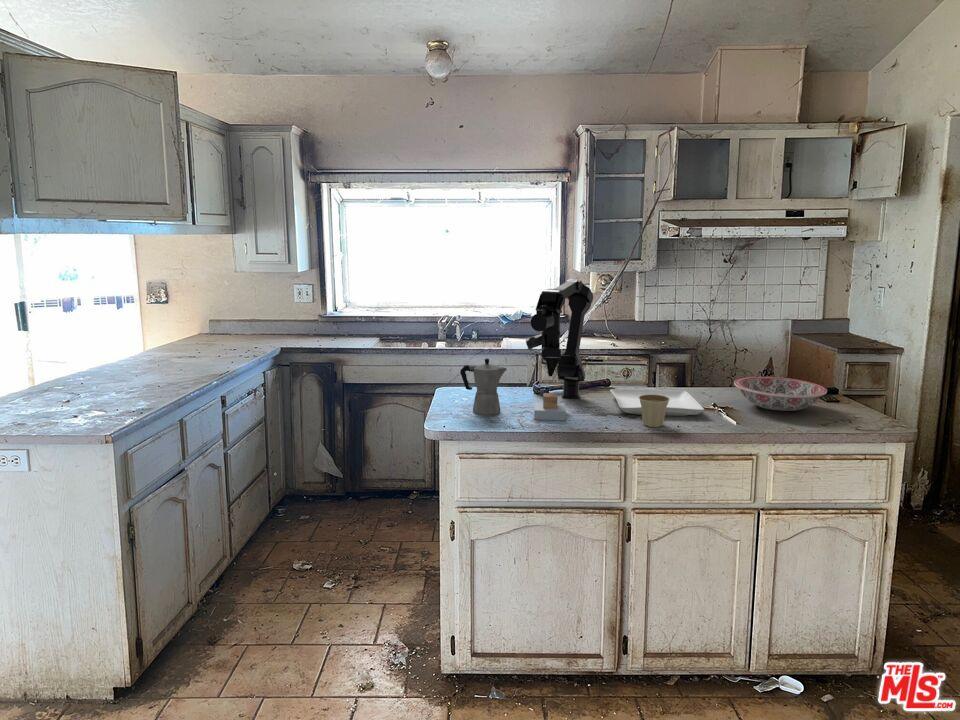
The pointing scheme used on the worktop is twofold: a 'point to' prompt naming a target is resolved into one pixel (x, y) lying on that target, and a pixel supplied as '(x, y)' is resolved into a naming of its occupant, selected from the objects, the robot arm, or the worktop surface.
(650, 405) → the flower pot
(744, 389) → the ceramic bowl
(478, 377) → the coffeepot
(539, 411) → the base slab
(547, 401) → the walnut block
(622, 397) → the square plate
